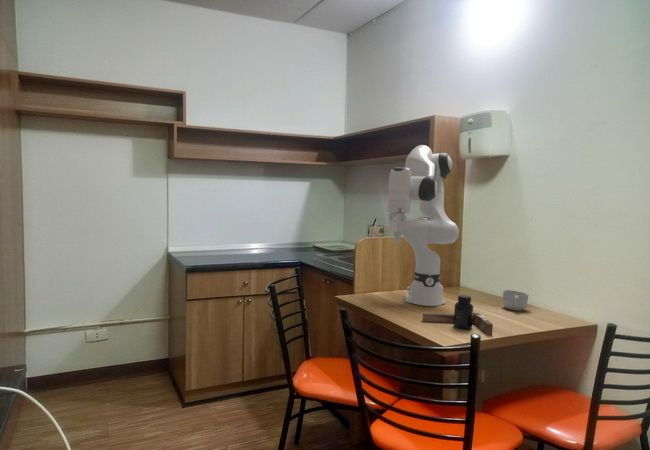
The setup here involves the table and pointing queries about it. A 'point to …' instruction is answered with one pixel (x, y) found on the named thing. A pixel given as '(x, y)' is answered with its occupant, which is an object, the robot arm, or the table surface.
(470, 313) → the supplement bottle
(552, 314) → the table surface
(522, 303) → the teacup
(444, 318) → the rack
